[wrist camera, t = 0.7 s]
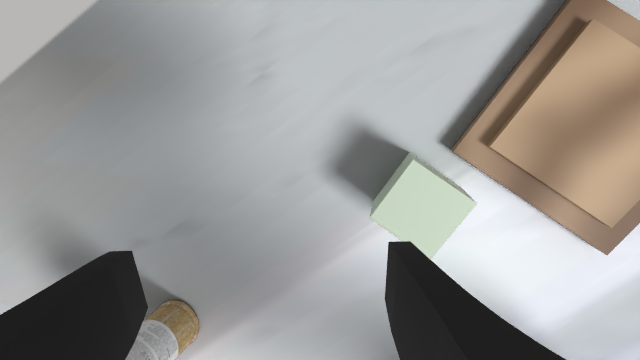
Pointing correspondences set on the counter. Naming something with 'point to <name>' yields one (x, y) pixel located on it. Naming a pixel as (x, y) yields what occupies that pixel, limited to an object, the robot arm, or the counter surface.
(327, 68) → the counter surface
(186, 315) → the sprinkles bottle
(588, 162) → the walnut base
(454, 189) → the sage block
